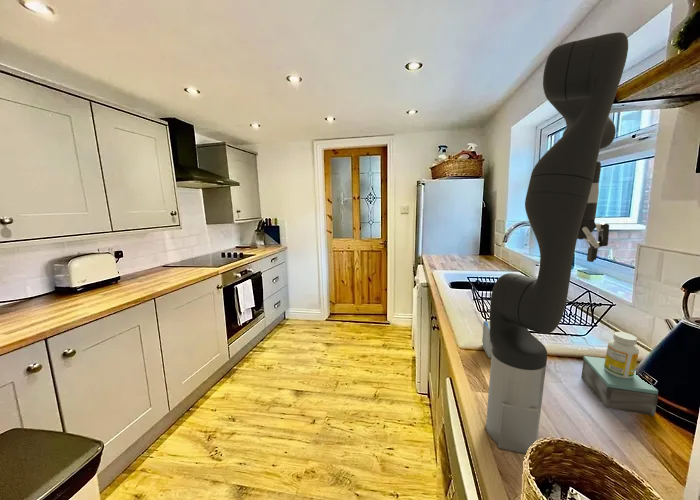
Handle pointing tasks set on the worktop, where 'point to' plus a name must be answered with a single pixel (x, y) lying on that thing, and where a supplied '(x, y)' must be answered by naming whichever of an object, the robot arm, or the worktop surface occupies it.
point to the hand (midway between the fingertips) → (571, 260)
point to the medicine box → (487, 339)
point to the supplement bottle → (622, 355)
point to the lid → (616, 382)
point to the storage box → (619, 395)
